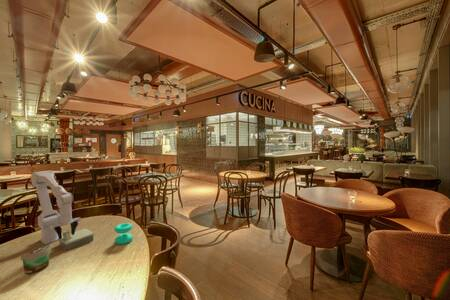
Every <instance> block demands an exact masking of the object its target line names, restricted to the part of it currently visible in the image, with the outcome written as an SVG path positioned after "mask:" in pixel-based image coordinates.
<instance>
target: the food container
mask: <svg viewBox="0 0 450 300" xmlns="http://www.w3.org/2000/svg"><path fill="white" fill-rule="evenodd" d="M51 250H52V245H51V244H50V243H47V244H44V245H43V246H42V247H38V248H36V249H34V250H31V252H29V253H26V254H21V256H20V261H22V264H23V271H24V274H25V275H32V274H36V273H40V272H42V271H43V270H46V269H47V268H48V267H49V264H50V251H51Z"/></svg>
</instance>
